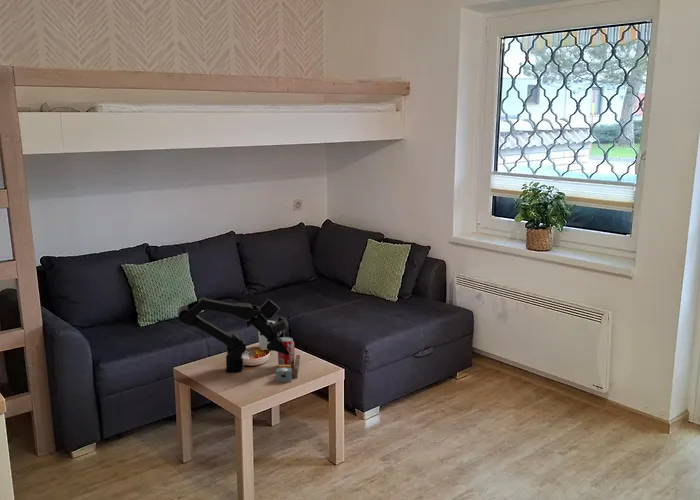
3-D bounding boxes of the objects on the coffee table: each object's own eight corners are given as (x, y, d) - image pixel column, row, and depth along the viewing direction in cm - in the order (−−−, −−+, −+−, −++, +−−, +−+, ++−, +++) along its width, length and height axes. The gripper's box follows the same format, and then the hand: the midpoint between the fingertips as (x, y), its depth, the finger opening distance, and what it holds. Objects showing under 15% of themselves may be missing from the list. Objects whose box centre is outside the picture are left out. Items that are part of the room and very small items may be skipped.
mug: (263, 354, 295) (262, 329, 292) (256, 346, 305) (256, 321, 303) (280, 352, 298) (280, 327, 295) (273, 343, 308) (273, 319, 306)
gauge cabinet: (276, 381, 266) (276, 370, 265) (277, 378, 269) (276, 367, 268) (291, 381, 266) (290, 370, 265) (291, 378, 269) (291, 367, 268)
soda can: (295, 362, 284) (295, 336, 282) (292, 369, 277) (292, 342, 275) (279, 362, 285) (279, 335, 282) (276, 368, 278) (276, 341, 275)
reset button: (278, 376, 268) (278, 368, 268) (279, 371, 273) (278, 364, 272) (290, 376, 269) (290, 368, 268) (291, 371, 273) (290, 364, 272)
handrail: (293, 378, 270) (293, 368, 269) (296, 364, 284) (296, 354, 283) (297, 378, 270) (297, 368, 269) (299, 364, 284) (299, 354, 283)
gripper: (274, 320, 267) (301, 346, 269) (278, 306, 285) (303, 331, 288) (255, 338, 268) (282, 364, 271) (260, 323, 287) (286, 347, 289)
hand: (289, 350), depth 280 cm, fingers closed on soda can, 7 cm apart
